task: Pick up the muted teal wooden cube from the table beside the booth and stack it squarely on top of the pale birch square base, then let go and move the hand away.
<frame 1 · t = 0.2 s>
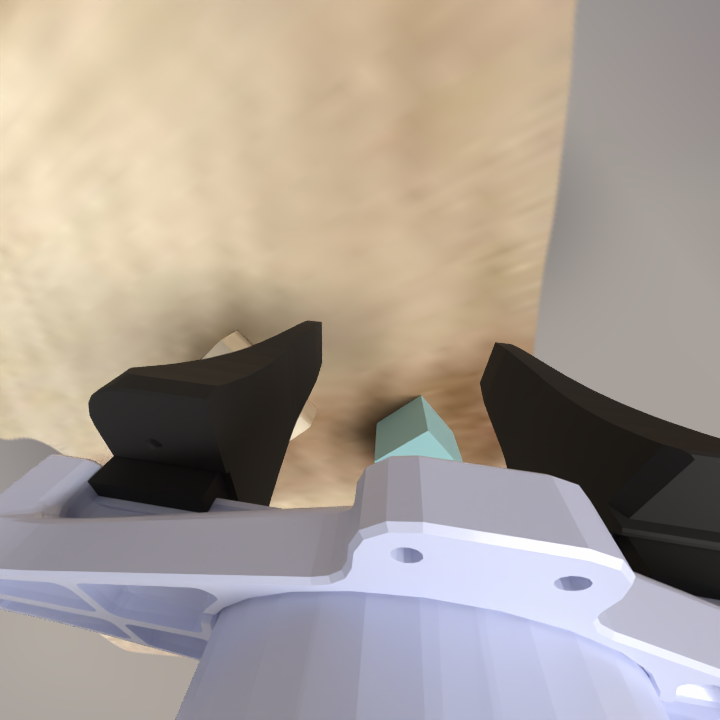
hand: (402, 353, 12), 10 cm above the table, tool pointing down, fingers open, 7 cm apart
teal block: (414, 427, 26), on the table
birch base: (244, 401, 26), on the table
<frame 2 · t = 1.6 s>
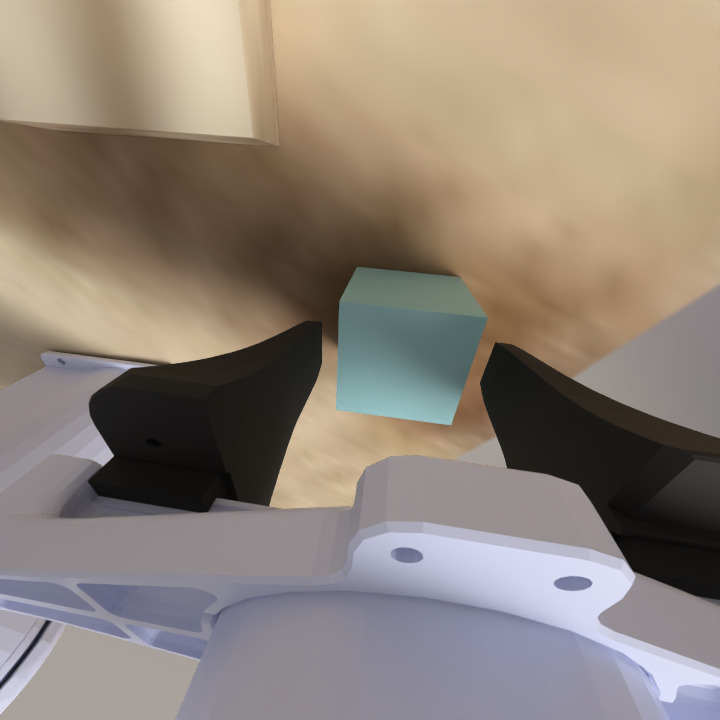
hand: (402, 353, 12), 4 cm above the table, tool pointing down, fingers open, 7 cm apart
teal block: (400, 318, 15), on the table
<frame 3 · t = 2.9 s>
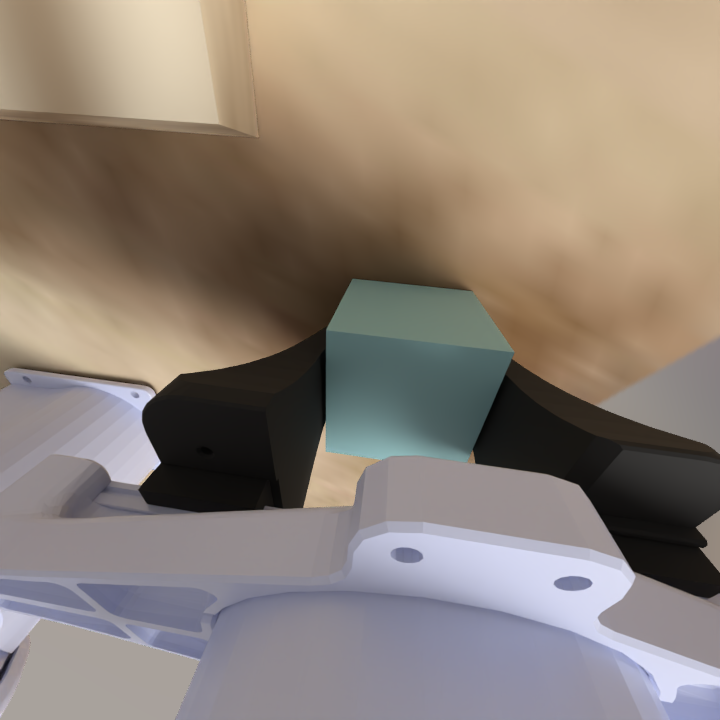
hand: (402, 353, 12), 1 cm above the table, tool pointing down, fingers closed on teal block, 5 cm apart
teal block: (402, 337, 13), on the table, touching gripper
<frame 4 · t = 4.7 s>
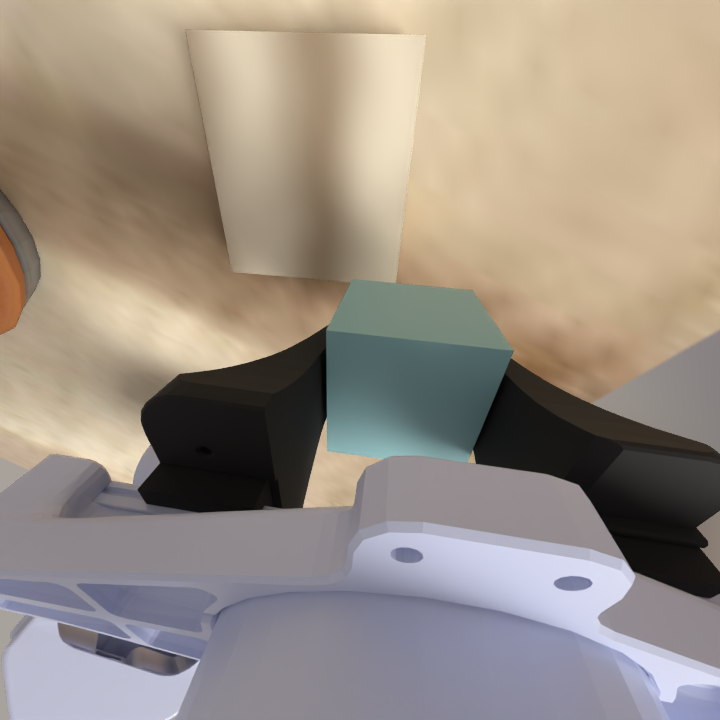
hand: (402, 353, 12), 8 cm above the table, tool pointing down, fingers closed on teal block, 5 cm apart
teal block: (403, 337, 13), point 7 cm above the table, touching gripper
birch base: (319, 180, 16), on the table
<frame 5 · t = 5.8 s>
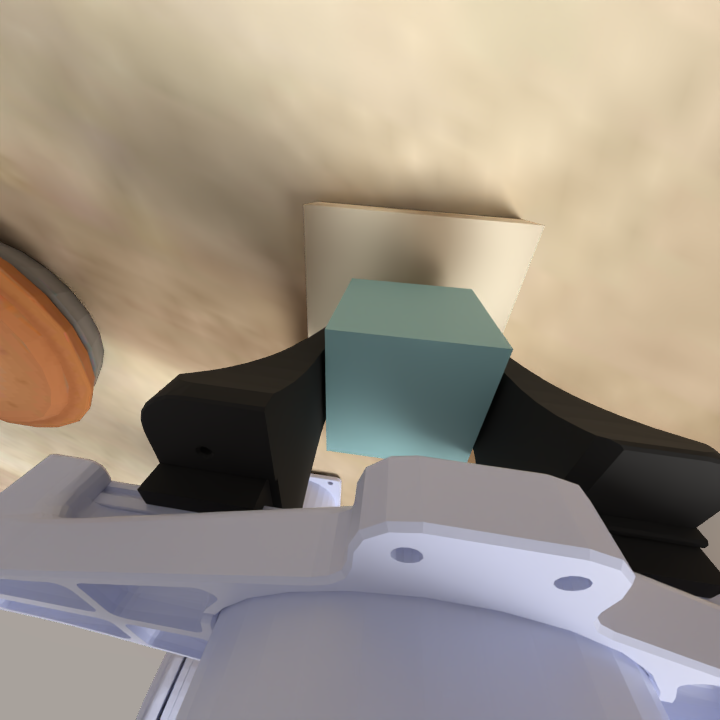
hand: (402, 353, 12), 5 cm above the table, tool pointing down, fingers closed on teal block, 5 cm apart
pie: (30, 315, 21), on the table
teal block: (402, 336, 13), point 4 cm above the table, touching gripper
birch base: (402, 306, 16), on the table
when the fingers open (5 cm above the table, at t = 6.7 s): teal block drops 1 cm, resting on birch base.
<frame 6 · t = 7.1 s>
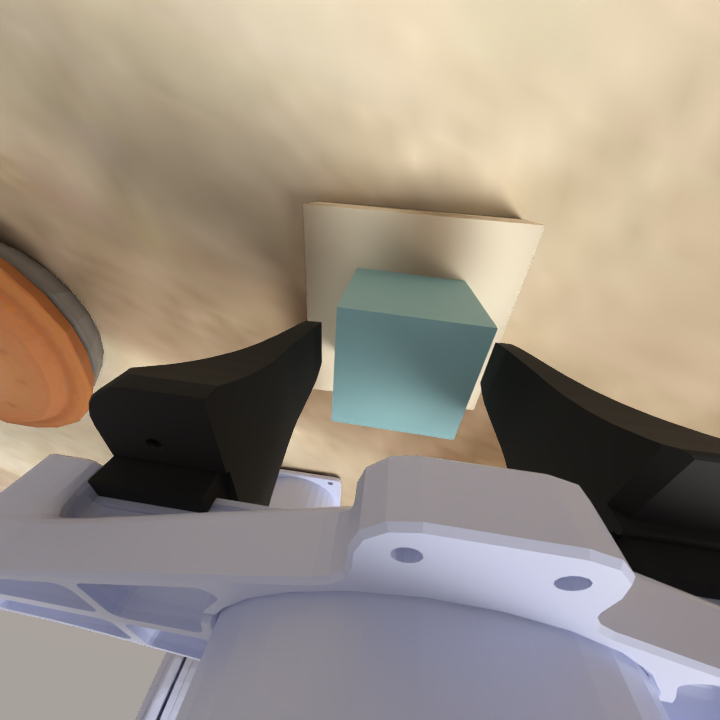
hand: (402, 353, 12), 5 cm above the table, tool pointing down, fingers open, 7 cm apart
pie: (30, 315, 20), on the table
teal block: (401, 323, 14), point 2 cm above the table, touching birch base
birch base: (402, 306, 16), on the table
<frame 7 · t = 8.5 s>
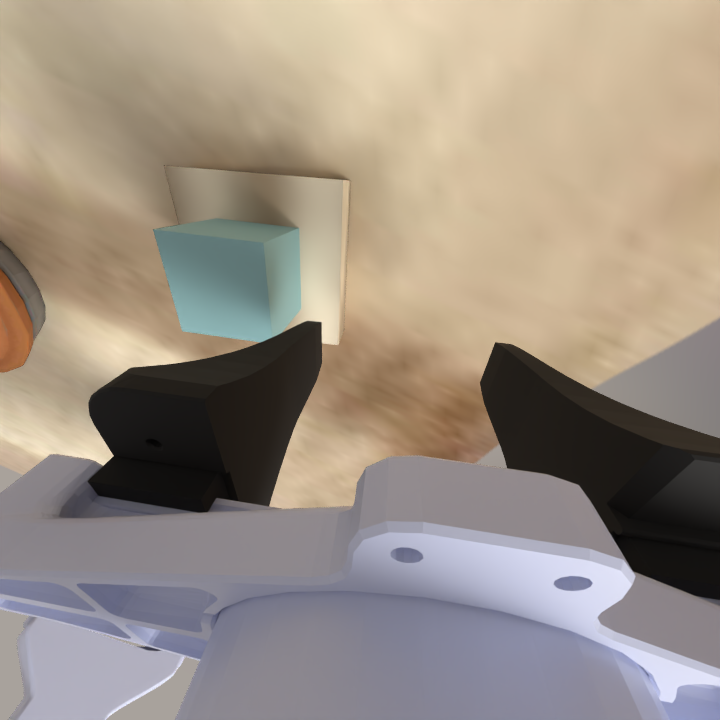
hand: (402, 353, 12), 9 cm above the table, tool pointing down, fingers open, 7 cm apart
teal block: (261, 266, 18), point 2 cm above the table, touching birch base
birch base: (277, 258, 20), on the table
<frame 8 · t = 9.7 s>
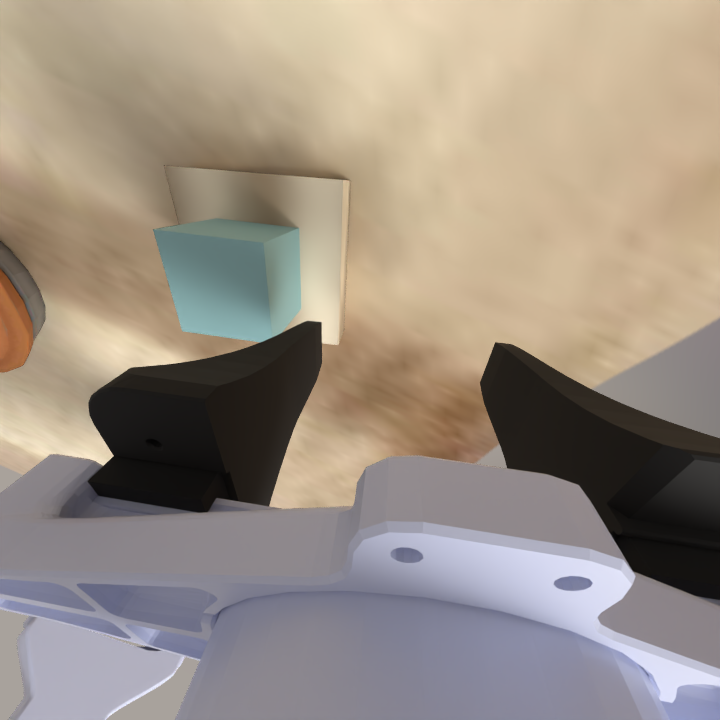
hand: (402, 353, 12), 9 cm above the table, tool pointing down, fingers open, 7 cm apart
teal block: (261, 266, 18), point 2 cm above the table, touching birch base
birch base: (277, 258, 20), on the table
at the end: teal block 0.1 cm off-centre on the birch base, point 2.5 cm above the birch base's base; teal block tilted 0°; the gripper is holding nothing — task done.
